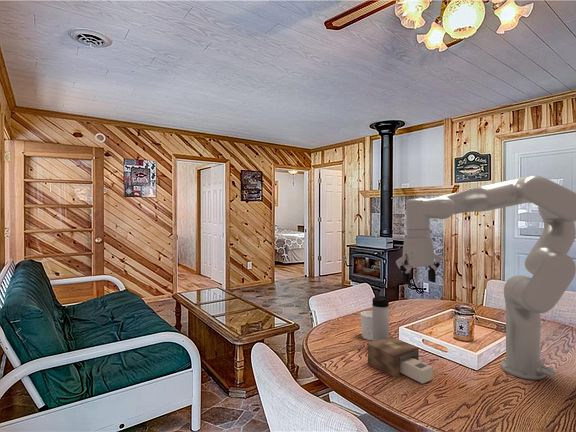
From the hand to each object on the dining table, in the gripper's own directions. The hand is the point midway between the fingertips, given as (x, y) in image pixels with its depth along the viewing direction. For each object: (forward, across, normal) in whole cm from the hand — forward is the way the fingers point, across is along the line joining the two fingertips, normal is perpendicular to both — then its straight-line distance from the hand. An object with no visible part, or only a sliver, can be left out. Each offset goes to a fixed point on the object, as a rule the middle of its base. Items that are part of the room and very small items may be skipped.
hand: (419, 282), depth 121 cm
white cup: (+28, +6, -27) cm, 40 cm away
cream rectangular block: (+28, +8, +5) cm, 30 cm away
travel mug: (+28, +7, -16) cm, 34 cm away
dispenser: (+28, +10, -2) cm, 30 cm away
